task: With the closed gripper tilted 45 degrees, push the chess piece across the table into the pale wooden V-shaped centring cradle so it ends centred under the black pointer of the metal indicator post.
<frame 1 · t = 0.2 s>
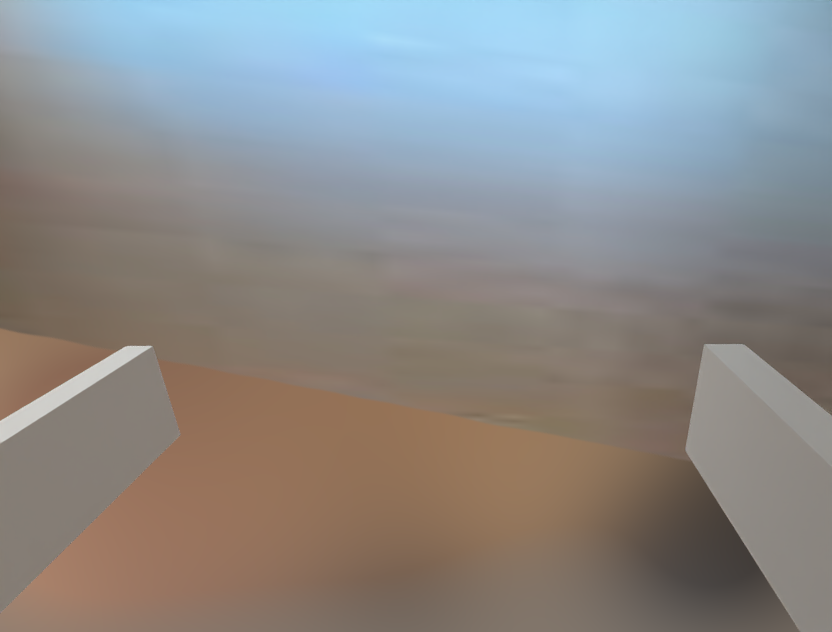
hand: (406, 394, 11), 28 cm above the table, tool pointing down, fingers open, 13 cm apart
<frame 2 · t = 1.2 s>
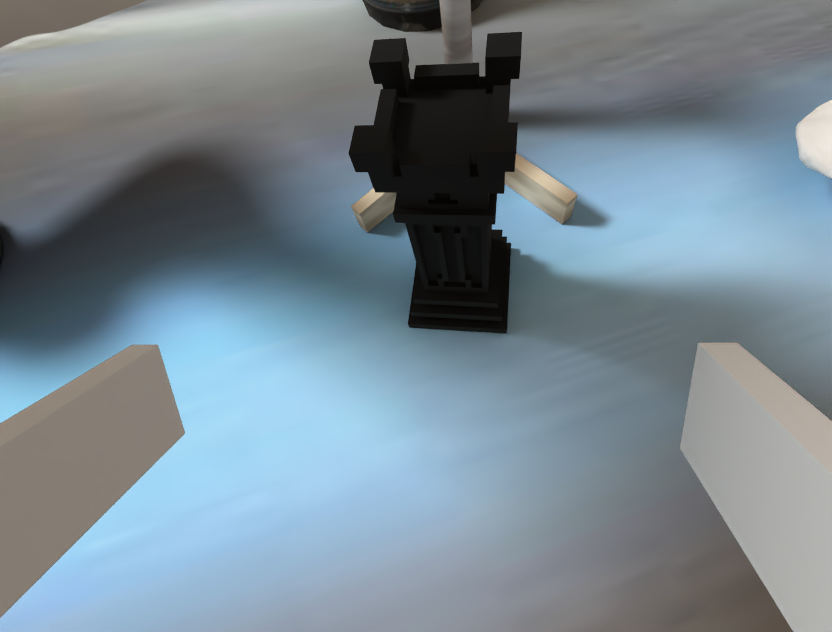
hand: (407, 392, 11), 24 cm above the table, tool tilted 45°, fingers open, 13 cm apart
centring cradle: (461, 200, 42), on the table
chess piece: (461, 287, 39), on the table
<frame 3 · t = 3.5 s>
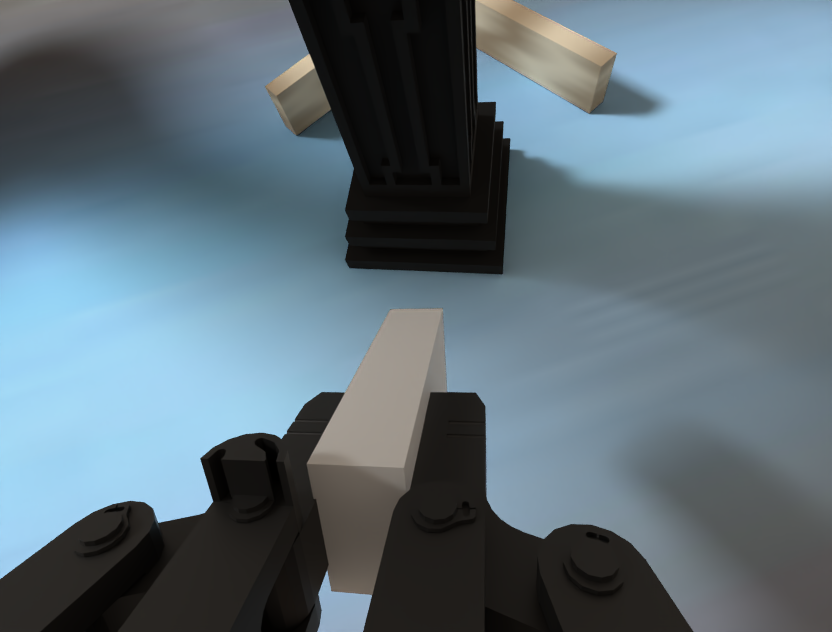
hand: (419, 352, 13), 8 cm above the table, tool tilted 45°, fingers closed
centring cradle: (437, 87, 28), on the table
chess piece: (432, 208, 25), on the table
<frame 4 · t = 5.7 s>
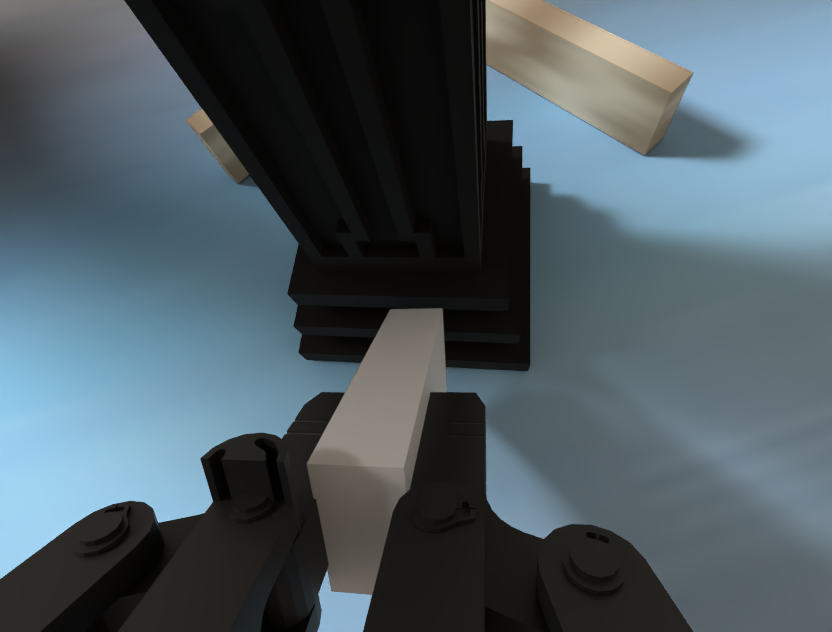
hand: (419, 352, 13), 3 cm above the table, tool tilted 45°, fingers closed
centring cradle: (428, 116, 21), on the table
chess piece: (423, 268, 18), on the table
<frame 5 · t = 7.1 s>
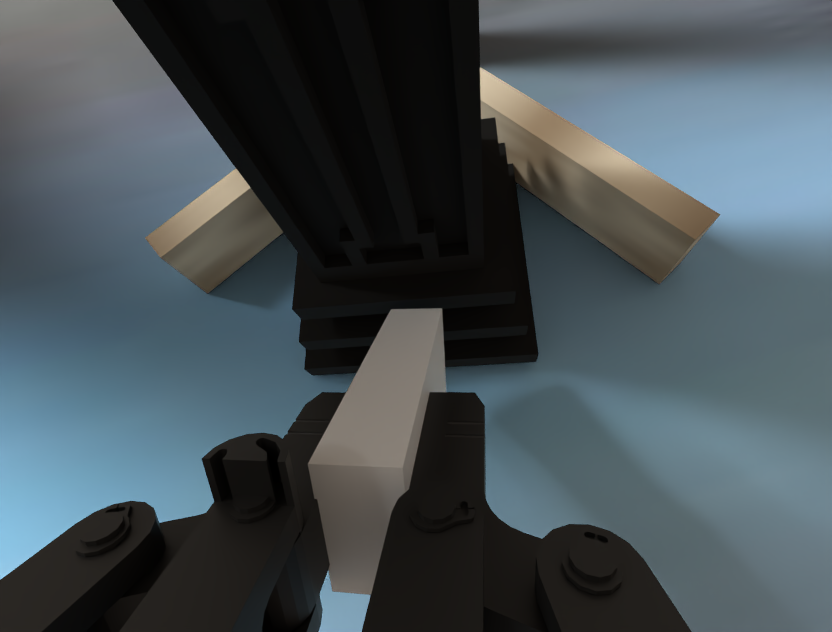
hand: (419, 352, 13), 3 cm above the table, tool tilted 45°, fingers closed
centring cradle: (420, 221, 19), on the table
chess piece: (419, 272, 18), on the table, touching centring cradle, gripper
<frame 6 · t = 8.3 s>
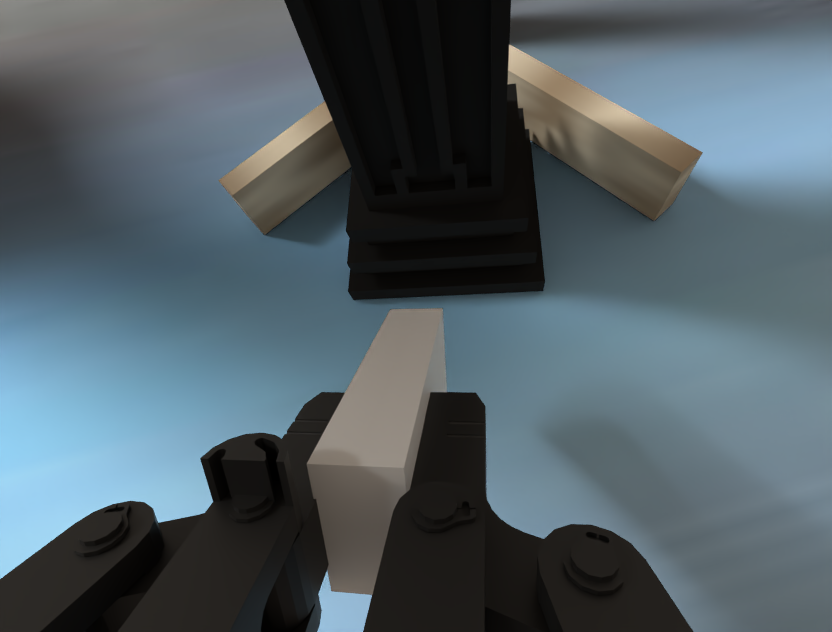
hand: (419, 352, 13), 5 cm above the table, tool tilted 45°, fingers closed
centring cradle: (447, 173, 22), on the table
chess piece: (445, 219, 21), on the table
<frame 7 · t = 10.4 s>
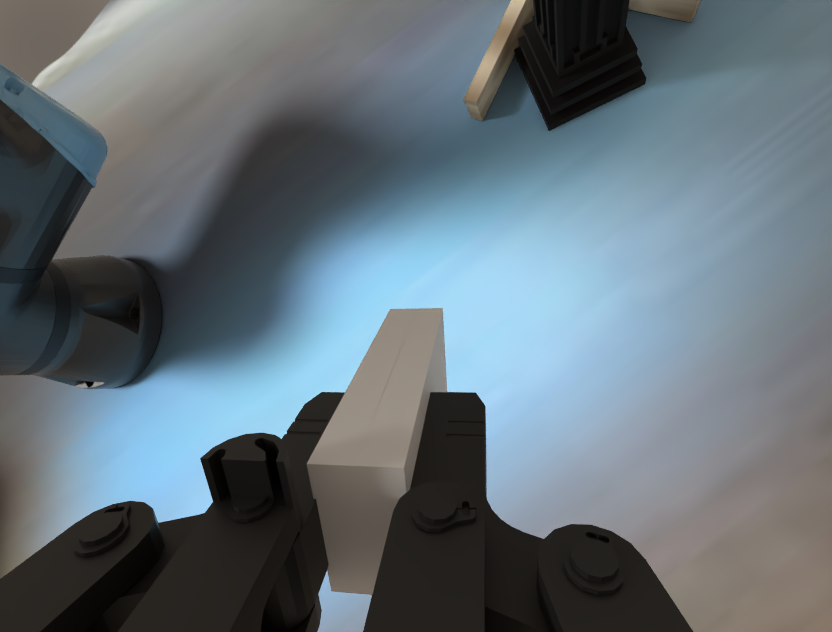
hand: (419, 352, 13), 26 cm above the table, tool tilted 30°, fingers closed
centring cradle: (567, 44, 39), on the table
chess piece: (576, 70, 39), on the table
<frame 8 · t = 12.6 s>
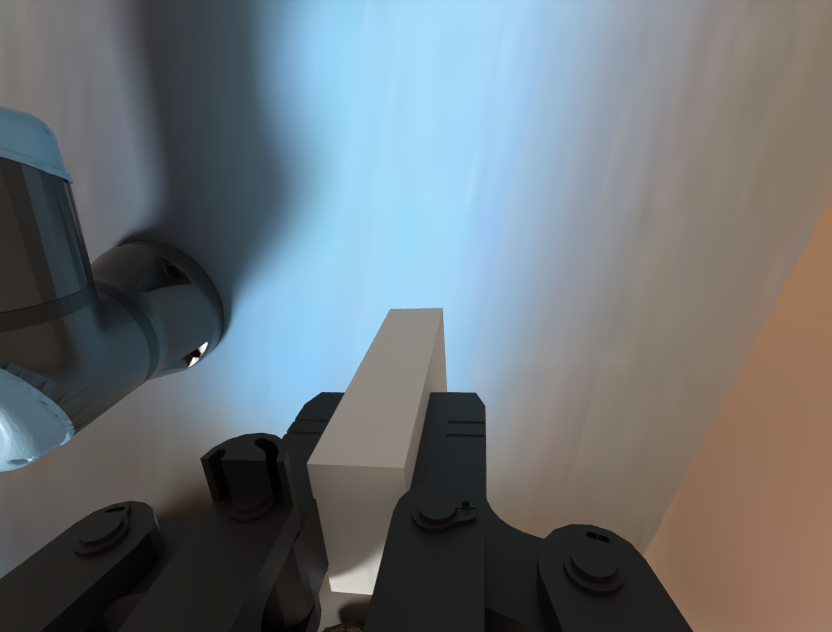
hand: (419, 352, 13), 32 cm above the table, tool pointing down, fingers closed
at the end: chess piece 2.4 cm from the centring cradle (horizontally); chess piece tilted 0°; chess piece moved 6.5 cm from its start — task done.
